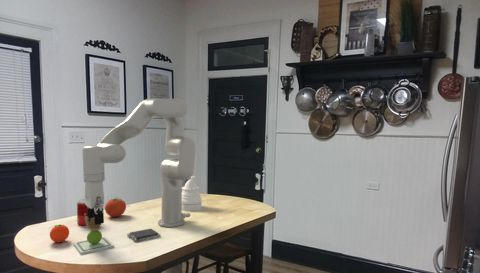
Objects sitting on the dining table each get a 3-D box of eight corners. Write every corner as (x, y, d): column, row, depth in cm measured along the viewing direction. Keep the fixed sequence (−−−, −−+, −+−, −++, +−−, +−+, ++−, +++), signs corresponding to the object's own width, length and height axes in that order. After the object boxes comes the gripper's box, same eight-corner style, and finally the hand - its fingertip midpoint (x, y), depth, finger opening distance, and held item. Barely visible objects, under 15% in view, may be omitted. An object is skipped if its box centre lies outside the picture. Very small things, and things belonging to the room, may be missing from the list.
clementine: (43, 244, 128) (43, 227, 127) (53, 238, 135) (53, 221, 134) (63, 245, 128) (63, 227, 127) (72, 239, 135) (72, 222, 134)
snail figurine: (87, 241, 130) (87, 211, 129) (103, 241, 130) (103, 211, 130) (81, 246, 125) (81, 215, 124) (99, 246, 125) (99, 215, 125)
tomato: (100, 218, 164) (100, 198, 164) (112, 213, 174) (113, 194, 174) (118, 220, 162) (118, 200, 161) (129, 214, 172) (130, 195, 171)
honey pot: (190, 204, 196) (190, 174, 196) (206, 207, 189) (206, 176, 188) (174, 208, 186) (174, 177, 185) (190, 212, 178) (190, 179, 178)
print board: (104, 238, 136) (104, 236, 136) (114, 247, 126) (114, 244, 126) (73, 244, 128) (73, 242, 128) (80, 254, 119) (80, 252, 119)
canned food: (88, 226, 151) (88, 203, 150) (73, 225, 152) (73, 202, 152) (98, 221, 158) (98, 199, 158) (84, 220, 160) (84, 198, 159)
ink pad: (151, 231, 146) (151, 227, 146) (160, 236, 139) (160, 233, 139) (127, 236, 139) (127, 232, 139) (135, 242, 132) (135, 238, 132)
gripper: (78, 175, 131) (79, 217, 132) (89, 182, 117) (91, 228, 118) (98, 173, 136) (99, 213, 137) (111, 179, 122) (112, 224, 123)
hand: (95, 220), depth 128 cm, fingers open, 9 cm apart
